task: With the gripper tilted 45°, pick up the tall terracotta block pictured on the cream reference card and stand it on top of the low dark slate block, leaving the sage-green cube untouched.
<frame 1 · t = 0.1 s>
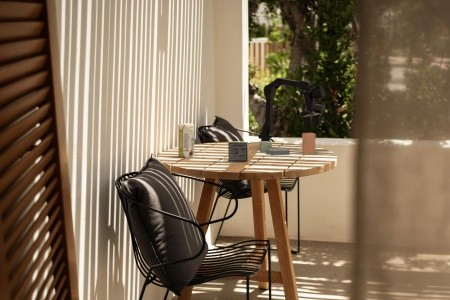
hand: (314, 126, 467), 15 cm above the table, tool pointing down, fingers open, 9 cm apart
sage cube: (265, 151, 473), on the table
slate base block: (277, 154, 464), on the table
reference card: (299, 150, 477), on the table
juice carton: (186, 157, 451), on the table
small box: (238, 161, 434), on the table
terracotta block: (308, 153, 464), on the table
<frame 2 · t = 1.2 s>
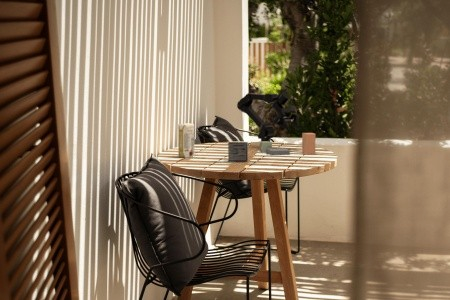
hand: (294, 129, 471), 14 cm above the table, tool tilted 45°, fingers open, 9 cm apart
nothing on the table moved.
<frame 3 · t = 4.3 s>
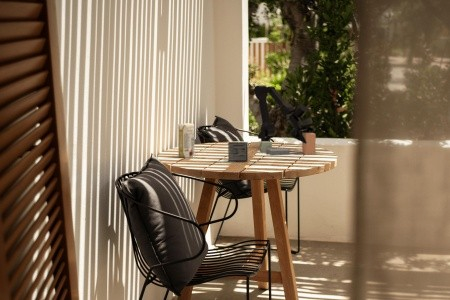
hand: (310, 142, 463), 7 cm above the table, tool tilted 45°, fingers closed on terracotta block, 8 cm apart
terracotta block: (308, 153, 464), on the table, touching gripper
everything else where it was.
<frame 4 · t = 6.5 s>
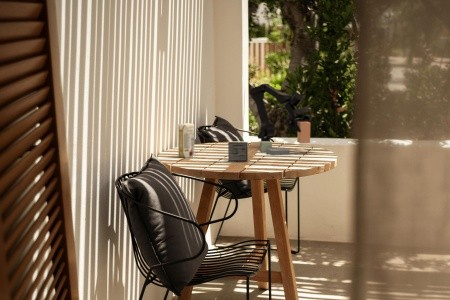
hand: (305, 131, 461), 13 cm above the table, tool tilted 45°, fingers closed on terracotta block, 8 cm apart
terracotta block: (303, 142, 463), point 7 cm above the table, touching gripper
everything else where it was.
when the fingers open (11 cm above the table, at t = 9.0 s): terracotta block drops 2 cm, resting on slate base block.
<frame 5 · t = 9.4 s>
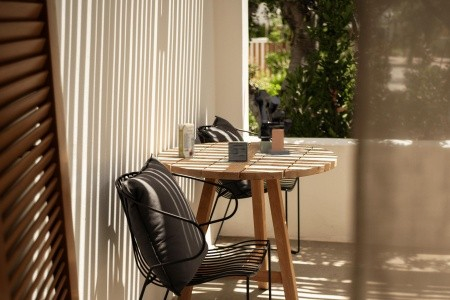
hand: (278, 135, 461), 11 cm above the table, tool tilted 45°, fingers open, 9 cm apart
slate base block: (277, 154, 464), on the table, touching terracotta block
terracotta block: (277, 149, 463), point 2 cm above the table, touching slate base block
everything else where it was.
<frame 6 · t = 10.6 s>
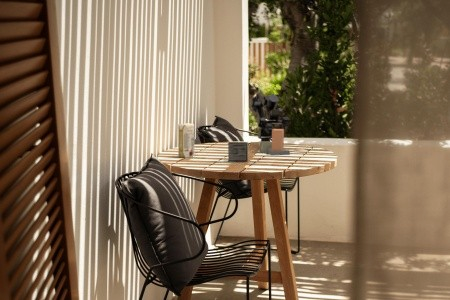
hand: (276, 133, 465), 12 cm above the table, tool tilted 45°, fingers open, 9 cm apart
nothing on the table moved.
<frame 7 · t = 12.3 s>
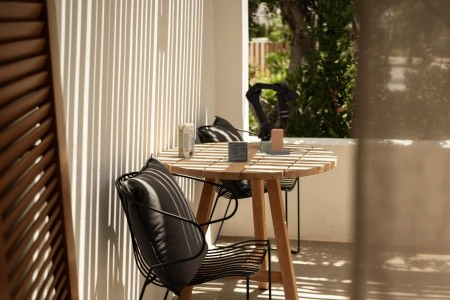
hand: (285, 128, 474), 14 cm above the table, tool pointing down, fingers open, 9 cm apart
slate base block: (277, 154, 464), on the table
terracotta block: (277, 149, 463), point 2 cm above the table
everything else where it was.
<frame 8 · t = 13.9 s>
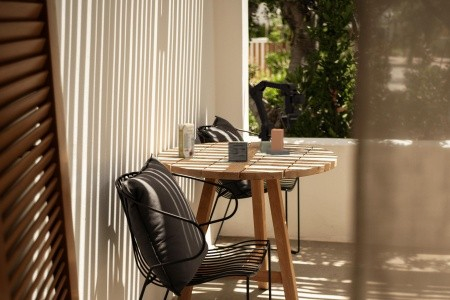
hand: (288, 129, 476), 13 cm above the table, tool pointing down, fingers open, 9 cm apart
nothing on the table moved.
at the end: terracotta block 0.3 cm off-centre on the slate base block, point 3.1 cm above the slate base block's base; terracotta block tilted 1°; the gripper is holding nothing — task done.
